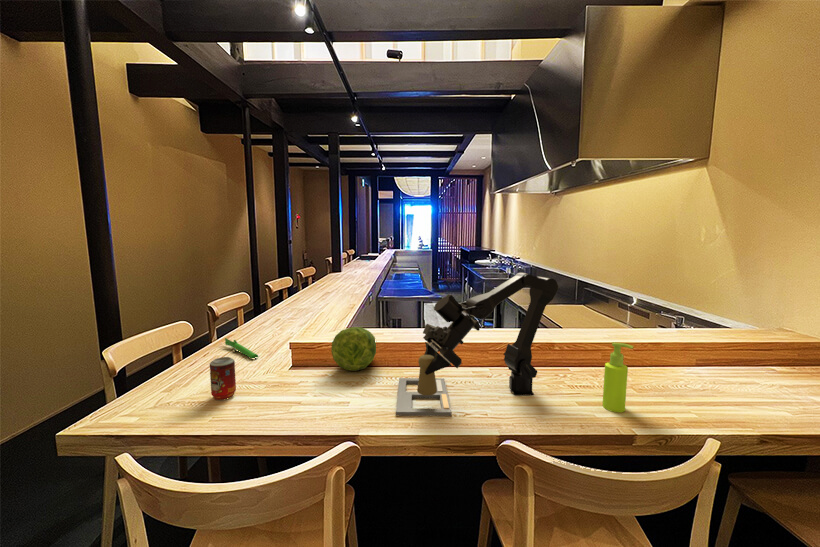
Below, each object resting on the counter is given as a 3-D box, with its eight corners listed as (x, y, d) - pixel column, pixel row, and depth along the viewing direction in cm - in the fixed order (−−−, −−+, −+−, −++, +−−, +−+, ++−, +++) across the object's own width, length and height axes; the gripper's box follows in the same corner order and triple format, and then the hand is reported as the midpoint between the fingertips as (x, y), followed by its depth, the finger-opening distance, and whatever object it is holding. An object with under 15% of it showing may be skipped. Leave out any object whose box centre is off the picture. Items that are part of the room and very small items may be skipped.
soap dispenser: (629, 415, 101) (633, 348, 99) (601, 409, 105) (605, 344, 102) (629, 406, 106) (633, 342, 104) (603, 401, 110) (606, 339, 107)
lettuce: (367, 370, 151) (392, 342, 150) (350, 383, 128) (380, 350, 127) (340, 343, 154) (365, 316, 153) (319, 351, 130) (348, 319, 130)
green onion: (259, 360, 148) (230, 342, 168) (259, 353, 147) (230, 335, 167) (247, 363, 144) (219, 344, 164) (247, 356, 144) (219, 338, 164)
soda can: (206, 400, 109) (204, 363, 108) (220, 391, 116) (219, 355, 115) (227, 402, 109) (225, 364, 107) (240, 392, 116) (239, 356, 114)
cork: (416, 395, 104) (416, 359, 102) (417, 386, 110) (417, 352, 108) (437, 395, 103) (437, 359, 102) (436, 386, 109) (436, 352, 108)
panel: (444, 381, 124) (444, 377, 124) (451, 416, 100) (451, 411, 100) (399, 381, 124) (399, 377, 124) (395, 415, 101) (395, 410, 100)
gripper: (428, 308, 114) (396, 344, 112) (451, 322, 96) (413, 365, 94) (451, 330, 117) (420, 365, 115) (477, 347, 99) (440, 389, 97)
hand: (422, 370), depth 105 cm, fingers closed on cork, 5 cm apart
